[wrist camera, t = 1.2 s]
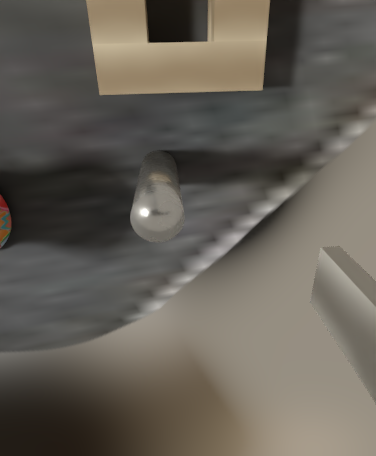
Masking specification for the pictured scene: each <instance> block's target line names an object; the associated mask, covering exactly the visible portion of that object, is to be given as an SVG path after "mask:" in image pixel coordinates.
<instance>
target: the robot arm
mask: <svg viewBox="0 0 376 456" xmlns="http://www.w3.org/2000/svg"><path fill="white" fill-rule="evenodd" d="M310 303H311V304H312V306H313V308H314V309H315V311H316V312H317V314H318V315H319V317H320V318H321V320H322V321H323V323H324V325H325V326H326V328H327V329H328V330H329V332H330V334H331V335H332V337H333V338H334V340H335V341H336V343H337V345H338V346H339V348H340V349H341V351H342V352H343V353H344V355H345V357H346V358H347V360H348V361H349V363H350V364H351V366H352V368H353V369H354V371H355V372H356V374H357V375H358V377H359V378H360V380H361V382H362V383H363V385H364V386H365V388H366V389H367V391H368V392H369V394H370V395H371V397H372V398H373V400H374V402H375V403H376V281H375V280H374V279H373V278H372V277H371V276H370V275H369V274H368V273H367V272H366V271H365V270H364V269H363V268H362V267H361V266H360V265H359V264H358V263H356V262H355V261H354V260H353V259H352V258H351V257H350V256H349V255H348V254H347V253H346V252H345V251H344V250H343V249H342V248H341V247H340V246H337V247H321V249H320V255H319V260H318V264H317V269H316V274H315V279H314V284H313V290H312V295H311V299H310Z"/></svg>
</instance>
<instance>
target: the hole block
mask: <svg viewBox="0 0 376 456" xmlns="http://www.w3.org/2000/svg"><path fill="white" fill-rule="evenodd" d="M86 2H87V9H88V16H89V23H90V30H91V37H92V44H93V51H94V58H95V65H96V72H97V79H98V86H99V93H100V95H114V94H149V93H183V92H218V91H252V90H263V79H264V66H265V54H266V42H267V30H268V18H269V6H270V0H208V42H169V43H149V35H148V20H147V6H146V0H86Z"/></svg>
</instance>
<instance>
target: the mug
mask: <svg viewBox="0 0 376 456" xmlns="http://www.w3.org/2000/svg"><path fill="white" fill-rule="evenodd" d="M10 231H11V215H10V211H9V208H8V206H7V204H6V202H5V200H4V199H3V197H2V196H1V195H0V248H1V247H2V246H3V245H4V244H5V242H6V241H7V239H8V237H9V235H10Z"/></svg>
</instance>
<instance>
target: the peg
mask: <svg viewBox="0 0 376 456" xmlns="http://www.w3.org/2000/svg"><path fill="white" fill-rule="evenodd" d="M130 221H131V225H132V227H133V229H134V231H135V232H136V233H137V234H138V235H139V236H140V237H142V238H143V239H145V240H148V241H151V242H164V241H167V240H170V239H172V238H173V237H175V236H176V235H177V234H178V233H179V232H180V231H181V229H182V227H183V224H184V211H183V204H182V198H181V192H180V185H179V179H178V172H177V166H176V162H175V160H174V158H173V157H172V156H171V155H170V154H169V153H167V152H164V151H153V152H150V153H149V154H147V155H146V156H145V157H144V159H143V161H142V164H141V169H140V173H139V178H138V182H137V187H136V191H135V196H134V201H133V205H132V210H131V215H130Z"/></svg>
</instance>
